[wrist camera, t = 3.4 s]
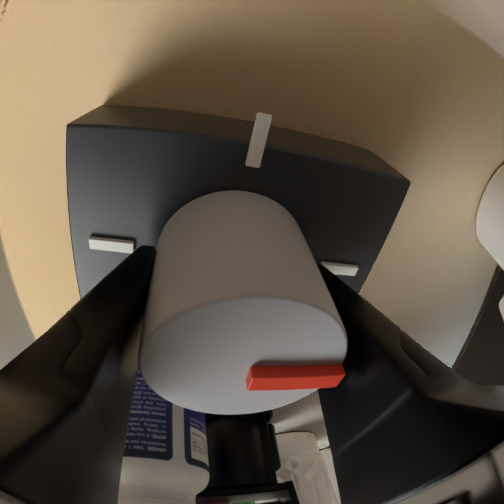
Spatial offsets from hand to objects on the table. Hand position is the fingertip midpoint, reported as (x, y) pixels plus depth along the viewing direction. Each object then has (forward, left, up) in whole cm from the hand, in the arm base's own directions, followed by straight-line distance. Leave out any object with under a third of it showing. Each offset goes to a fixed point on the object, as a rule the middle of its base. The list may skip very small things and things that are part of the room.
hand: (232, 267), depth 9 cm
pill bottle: (-3, -10, -4) cm, 11 cm away
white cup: (+10, -25, -4) cm, 27 cm away
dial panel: (0, 0, -4) cm, 4 cm away
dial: (0, 0, 0) cm, 0 cm away
